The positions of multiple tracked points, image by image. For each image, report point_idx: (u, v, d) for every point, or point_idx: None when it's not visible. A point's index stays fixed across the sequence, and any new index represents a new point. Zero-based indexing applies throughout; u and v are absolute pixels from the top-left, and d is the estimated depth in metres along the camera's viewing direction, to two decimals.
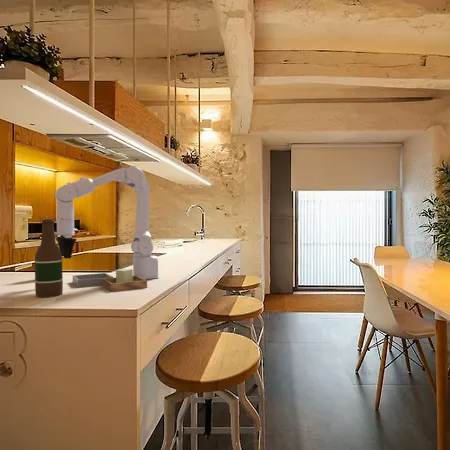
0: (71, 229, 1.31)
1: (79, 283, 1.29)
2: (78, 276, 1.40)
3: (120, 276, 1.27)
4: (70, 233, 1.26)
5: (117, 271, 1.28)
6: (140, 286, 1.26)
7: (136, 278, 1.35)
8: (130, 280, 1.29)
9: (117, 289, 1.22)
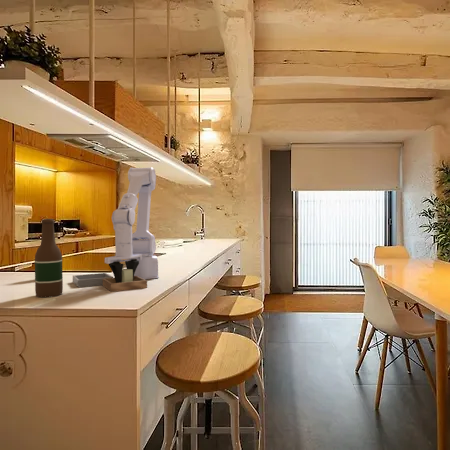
0: (121, 254, 1.26)
1: (79, 283, 1.29)
2: (78, 276, 1.40)
3: None
4: (107, 259, 1.23)
5: None
6: (140, 286, 1.26)
7: (136, 278, 1.35)
8: (130, 280, 1.29)
9: (117, 289, 1.22)
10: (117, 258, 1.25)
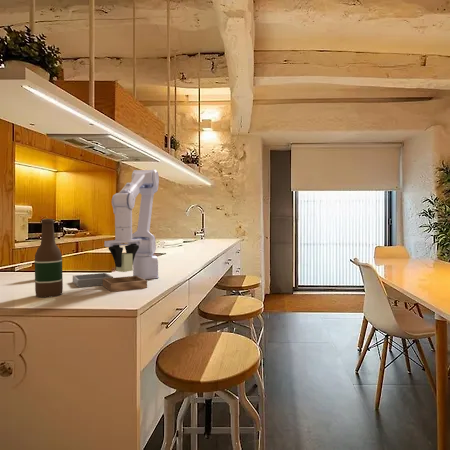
0: (121, 238, 1.26)
1: (79, 283, 1.29)
2: (78, 276, 1.40)
3: None
4: (107, 242, 1.23)
5: None
6: (140, 286, 1.26)
7: (136, 278, 1.35)
8: (130, 264, 1.29)
9: (117, 289, 1.22)
10: (117, 241, 1.25)
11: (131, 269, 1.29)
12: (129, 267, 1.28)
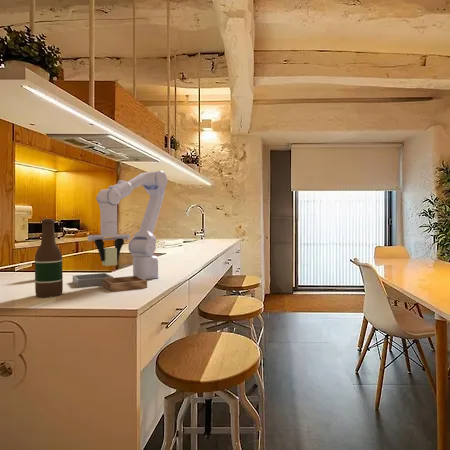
0: (103, 233, 1.30)
1: (79, 283, 1.29)
2: (78, 276, 1.40)
3: (104, 254, 1.31)
4: (88, 236, 1.28)
5: None
6: (140, 286, 1.26)
7: (136, 278, 1.35)
8: (113, 258, 1.31)
9: (117, 289, 1.22)
10: (98, 236, 1.29)
11: (115, 263, 1.32)
12: (113, 261, 1.31)
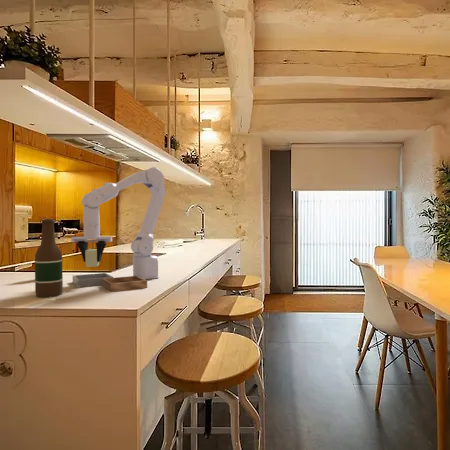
0: (84, 235, 1.35)
1: (79, 283, 1.29)
2: (78, 276, 1.40)
3: None
4: None
5: None
6: (140, 286, 1.26)
7: (136, 278, 1.35)
8: (93, 260, 1.35)
9: (117, 289, 1.22)
10: (79, 238, 1.35)
11: (95, 265, 1.35)
12: (92, 262, 1.35)
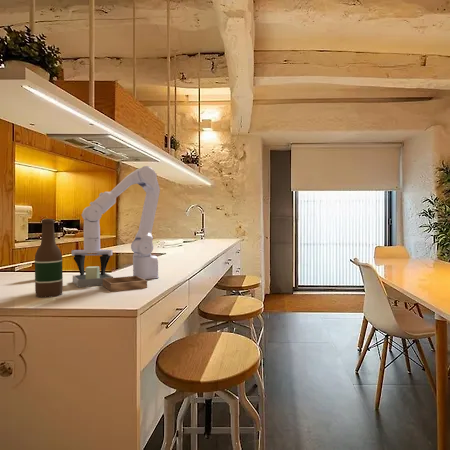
0: (84, 248, 1.35)
1: (79, 283, 1.29)
2: (78, 276, 1.40)
3: None
4: None
5: None
6: (140, 286, 1.26)
7: (136, 278, 1.35)
8: (93, 277, 1.35)
9: (117, 289, 1.22)
10: (79, 251, 1.35)
11: None
12: None
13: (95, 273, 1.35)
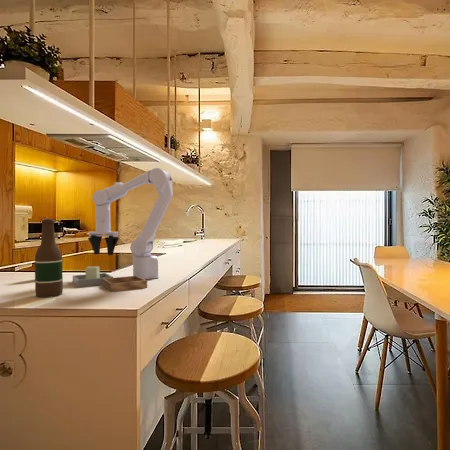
0: None
1: (79, 283, 1.29)
2: (78, 276, 1.40)
3: None
4: None
5: None
6: (140, 286, 1.26)
7: (136, 278, 1.35)
8: (93, 277, 1.35)
9: (117, 289, 1.22)
10: (92, 232, 1.49)
11: None
12: None
13: (95, 273, 1.35)
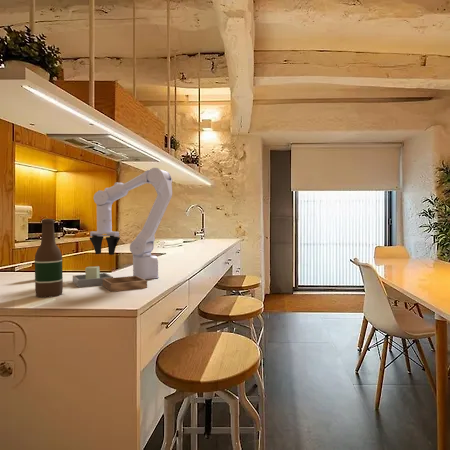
0: None
1: (79, 283, 1.29)
2: (78, 276, 1.40)
3: None
4: None
5: None
6: (140, 286, 1.26)
7: (136, 278, 1.35)
8: (93, 277, 1.35)
9: (117, 289, 1.22)
10: (94, 232, 1.50)
11: None
12: None
13: (95, 273, 1.35)
